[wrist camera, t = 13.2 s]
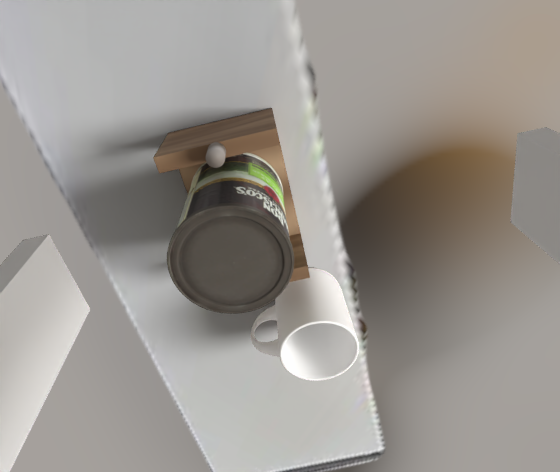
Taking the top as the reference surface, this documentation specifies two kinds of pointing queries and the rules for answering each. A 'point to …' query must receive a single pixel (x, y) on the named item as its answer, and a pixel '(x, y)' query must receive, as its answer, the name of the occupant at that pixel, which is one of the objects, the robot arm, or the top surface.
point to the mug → (311, 328)
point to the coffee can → (232, 237)
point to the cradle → (229, 142)
